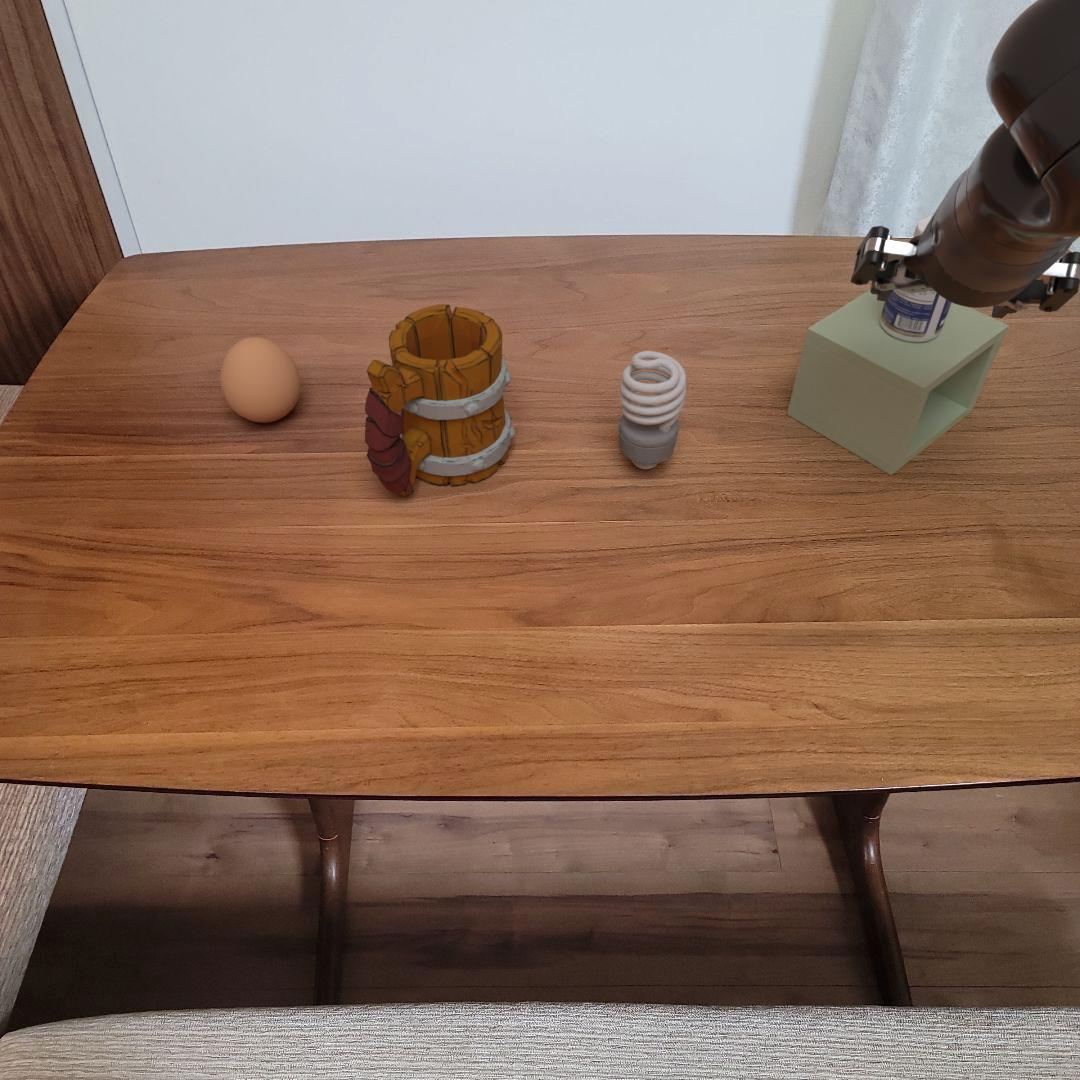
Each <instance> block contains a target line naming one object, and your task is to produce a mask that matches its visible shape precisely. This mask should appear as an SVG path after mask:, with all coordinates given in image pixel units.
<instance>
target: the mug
mask: <svg viewBox="0 0 1080 1080" xmlns="http://www.w3.org/2000/svg"><path fill="white" fill-rule="evenodd" d="M503 336H504V335H503V332H502V330H501V326H500V325H499V324H497V323H496V321H495V319H494V318H492V317H491V316H488V315H486V314H485V313H484V312H482V311H479V310H476V309H471V308H468V307H459V306H455V307H454V308H453V311H452V309H451V305H450V304H442V303H441V304H435V305H430V306H427V307H423V308H420V309H418V310H415V311H413V312H411V313H409V314H408V315H406V316H405V317H404V319H402V320H400V321H399V322H398V323H397V324H395V329H393V330H391V331H390V334H389V336H388V347H389V353H390V359H391V364H388V363H386V362H383V361H382V360H378V359H373V360H371V362H370V363H369V365H368V368H367V369H366V373H367V377H368V379H369V381H370V384H371V387H369V388H368V393H367V396H366V399H365V406H364V412H365V414H366V415H367V417H365V426H364V427H365V428H364V442H365V444H366V445H367V446H368V448H367V454H366V457H367V460H368V461H369V463H370V467H371V470H372V472H373V473H374V474H375V475H376V476H377V478H378V479H379V482H380V483H381V484H382V486H383V487H384V489H386V490H387V491H389V492H391V493H392V494H397V495H398V496H401V497H407V496H408V495H409V494H410V493H411V494H413V493H414V487H415V484H416V478H418V479H421V480H423V481H425V482H427V483H428V484H433V485H436V486H448V485H449V484H450V485H451V486H452V487H455V486H465V485H466V484H467V482H469V483H474V484H475V483H478V482H480V481H483V480H484V479H487V478H489V477H491V476H492V475H493V474H495V473H496V472H497V471H498V470H499V466H500V465H504V464H505V463H506V461H507V459H508V457H509V453H510V449H511V443H512V439H514V438H515V436H516V430H515V427H514V426H512V420H511V417H510V414H509V412H508V410H507V408H506V407H505V401H504V400H505V399H504V394H505V392H506V390H507V386H509V385H510V384H511V381H512V375H511V374H510V371H508V370H507V369H508V368H507V363H506V359H505V357H504V356H503Z"/></svg>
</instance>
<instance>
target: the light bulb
mask: <svg viewBox="0 0 1080 1080" xmlns="http://www.w3.org/2000/svg"><path fill="white" fill-rule="evenodd" d="M630 361H631V363H630V364H629V365H626V367H624V370H623V371H622V373H621V381H620V384H619V389H620V390H619V391H620V393H619V401H620V403H621V407H620V410H621V413H622V415H621V416H620V419H619V423H618V446H619V450H620V452H621V453H622V455H623V456H625V457H626V458H627V459H628V460H630V461H631V462H632V463H633V465H634V466H635V467H636V468H639V469H642V470H650V469H653V468H655V467H657V465H658V464H659V463H662V462H665V461H666V460H668V459H670V457H672V455H673V454H674V452H675V448H676V444H677V441H678V438H679V437H678V436H679V431H680V429H679V427H680V425H679V420H678V419H679V417H680V415H681V414H680V413H681V411H682V409H683V407H684V404H685V397H686V393H687V386H686V385H687V374H686V371H685V369H684V367H683V366H682V365H681V363H680V362H679V361H678V360H676V358H674V357H672V356H670V355H668V354H666V353H663V352H659V351H653V350H643V351H639V352H637V353H635V354H634V355H633V356H632V357H631V359H630ZM648 370H649V371H648ZM649 381H652V382H649ZM654 382H656V383H654ZM640 393H643V394H640ZM646 394H654V395H646Z"/></svg>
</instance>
